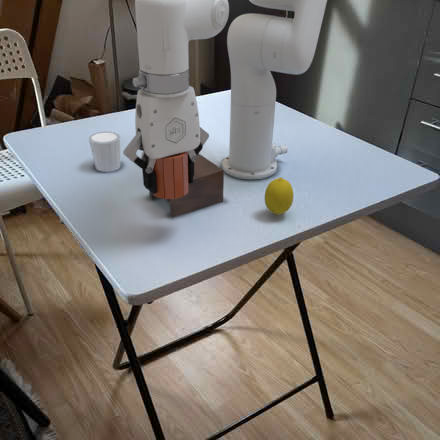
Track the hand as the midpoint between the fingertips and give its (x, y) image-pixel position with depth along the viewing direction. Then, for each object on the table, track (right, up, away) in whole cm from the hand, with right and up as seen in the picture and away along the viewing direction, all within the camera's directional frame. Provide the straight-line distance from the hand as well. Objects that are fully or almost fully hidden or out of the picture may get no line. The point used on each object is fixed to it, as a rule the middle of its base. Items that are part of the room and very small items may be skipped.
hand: (169, 184), depth 92 cm
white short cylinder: (-17, +10, +27) cm, 34 cm away
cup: (0, -1, +1) cm, 1 cm away
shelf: (+2, 0, +16) cm, 16 cm away
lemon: (+20, -4, +12) cm, 24 cm away
